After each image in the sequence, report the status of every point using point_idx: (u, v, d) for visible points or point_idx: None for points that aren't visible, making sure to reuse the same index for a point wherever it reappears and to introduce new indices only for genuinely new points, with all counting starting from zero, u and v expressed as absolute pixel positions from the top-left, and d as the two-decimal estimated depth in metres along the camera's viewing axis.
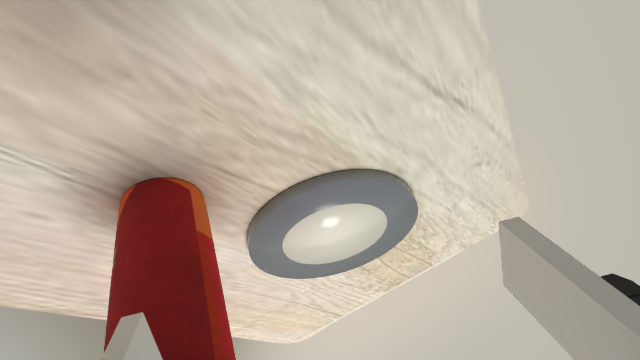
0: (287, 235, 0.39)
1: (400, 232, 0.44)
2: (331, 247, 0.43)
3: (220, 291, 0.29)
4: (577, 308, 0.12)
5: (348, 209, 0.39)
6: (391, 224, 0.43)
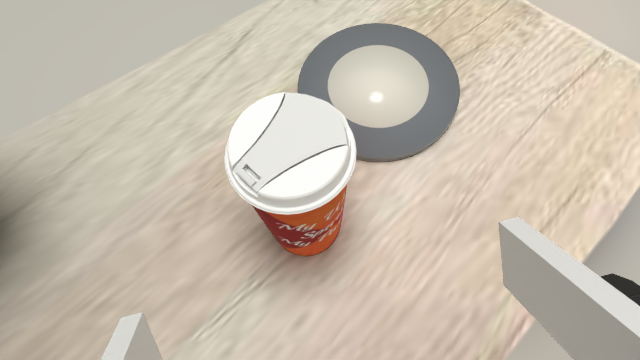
0: (364, 124, 0.43)
1: (387, 31, 0.48)
2: (399, 85, 0.45)
3: None
4: (577, 308, 0.12)
5: (336, 81, 0.45)
6: (370, 41, 0.47)
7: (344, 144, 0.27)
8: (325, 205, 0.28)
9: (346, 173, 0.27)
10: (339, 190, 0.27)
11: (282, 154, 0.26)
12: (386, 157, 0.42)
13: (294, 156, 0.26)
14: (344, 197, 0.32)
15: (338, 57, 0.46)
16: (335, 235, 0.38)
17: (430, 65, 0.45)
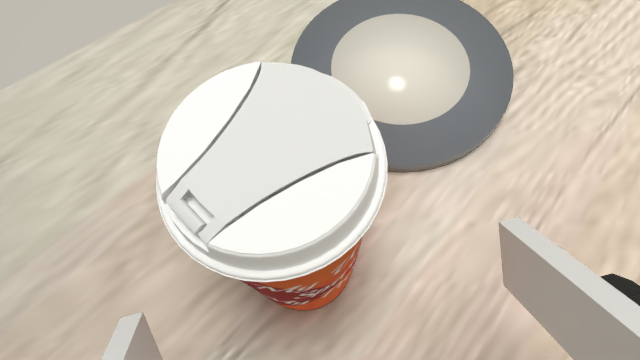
0: (382, 120, 0.31)
1: None
2: (429, 66, 0.33)
3: None
4: (577, 308, 0.12)
5: (343, 61, 0.33)
6: (387, 9, 0.35)
7: (368, 151, 0.15)
8: None
9: (371, 204, 0.15)
10: (359, 235, 0.15)
11: (254, 171, 0.14)
12: (415, 166, 0.30)
13: (276, 175, 0.14)
14: (362, 235, 0.20)
15: (345, 30, 0.34)
16: (346, 282, 0.26)
17: (470, 39, 0.33)
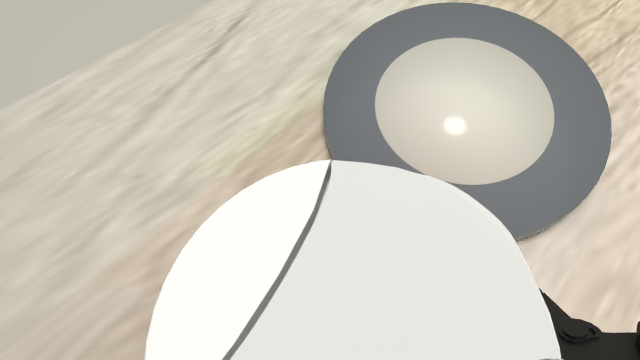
0: (445, 178, 0.24)
1: (470, 14, 0.29)
2: (500, 106, 0.26)
3: None
4: None
5: (390, 99, 0.26)
6: (443, 32, 0.28)
7: (549, 355, 0.08)
8: None
9: None
10: None
11: None
12: None
13: None
14: None
15: (390, 59, 0.28)
16: None
17: (550, 71, 0.26)
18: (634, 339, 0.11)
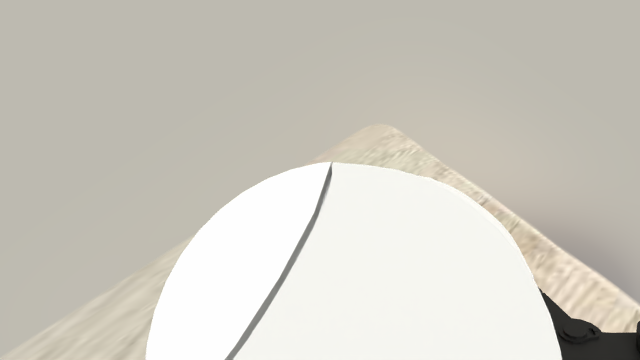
0: None
1: None
2: None
3: None
4: None
5: None
6: None
7: (550, 357, 0.08)
8: None
9: None
10: None
11: None
12: None
13: None
14: None
15: None
16: None
17: None
18: (634, 339, 0.11)
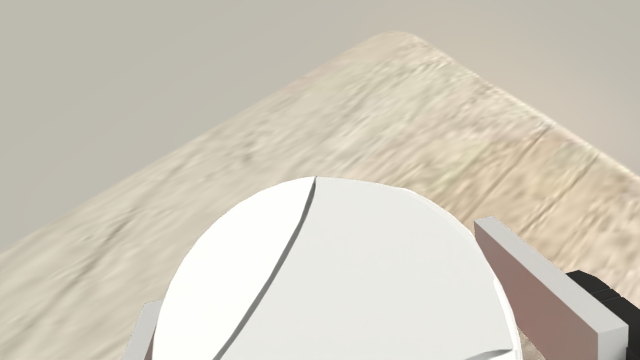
0: None
1: None
2: None
3: None
4: (542, 303, 0.13)
5: None
6: None
7: (503, 346, 0.09)
8: None
9: None
10: None
11: None
12: None
13: None
14: None
15: None
16: None
17: None
18: None
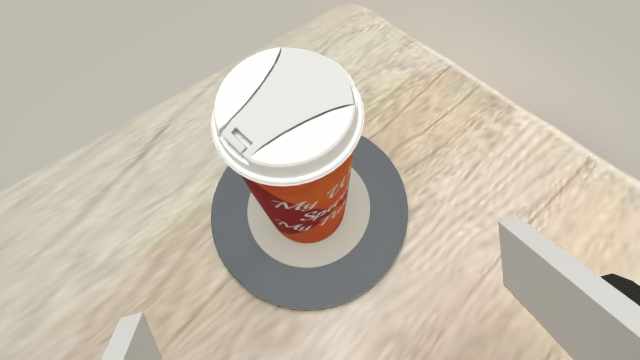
0: (287, 262, 0.35)
1: None
2: None
3: None
4: (577, 308, 0.12)
5: None
6: None
7: (350, 104, 0.23)
8: (328, 177, 0.24)
9: (352, 138, 0.23)
10: (344, 158, 0.23)
11: (277, 116, 0.23)
12: (313, 308, 0.34)
13: (291, 118, 0.22)
14: (350, 172, 0.28)
15: None
16: (339, 219, 0.34)
17: (373, 181, 0.37)
18: None
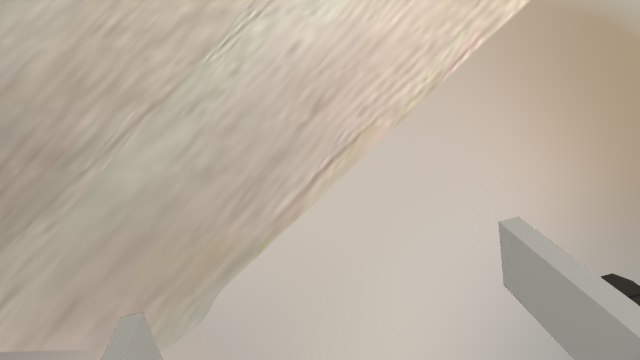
0: None
1: None
2: None
3: None
4: (577, 308, 0.12)
5: None
6: None
7: None
8: None
9: None
10: None
11: None
12: None
13: None
14: None
15: None
16: None
17: None
18: None
